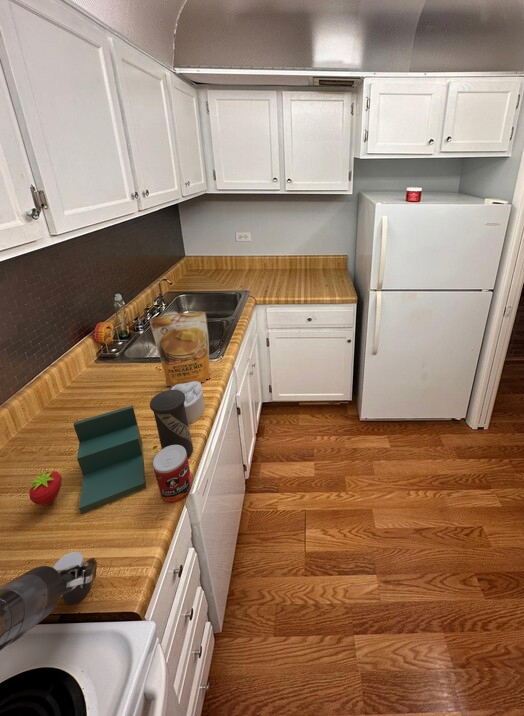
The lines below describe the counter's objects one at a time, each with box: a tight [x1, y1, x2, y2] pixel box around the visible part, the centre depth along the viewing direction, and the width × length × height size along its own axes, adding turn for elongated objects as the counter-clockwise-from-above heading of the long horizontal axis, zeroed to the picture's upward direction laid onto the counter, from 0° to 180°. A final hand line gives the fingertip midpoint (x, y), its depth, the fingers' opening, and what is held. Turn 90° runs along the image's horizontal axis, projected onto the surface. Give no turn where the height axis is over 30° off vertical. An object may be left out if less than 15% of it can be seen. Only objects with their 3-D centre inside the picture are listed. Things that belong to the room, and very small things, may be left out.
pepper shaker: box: [52, 551, 93, 606], centre depth 64 cm, size 5×5×8 cm
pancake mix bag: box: [148, 310, 212, 388], centre depth 122 cm, size 7×19×28 cm, turn 107°
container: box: [149, 389, 194, 459], centre depth 92 cm, size 9×9×20 cm
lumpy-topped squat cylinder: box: [170, 381, 206, 426], centre depth 110 cm, size 10×13×9 cm
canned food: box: [152, 445, 193, 503], centre depth 83 cm, size 8×8×11 cm
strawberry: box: [28, 470, 63, 506], centre depth 80 cm, size 6×8×10 cm
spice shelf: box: [73, 404, 147, 514], centre depth 87 cm, size 14×17×14 cm
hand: (77, 567), depth 65 cm, fingers closed on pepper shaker, 4 cm apart
